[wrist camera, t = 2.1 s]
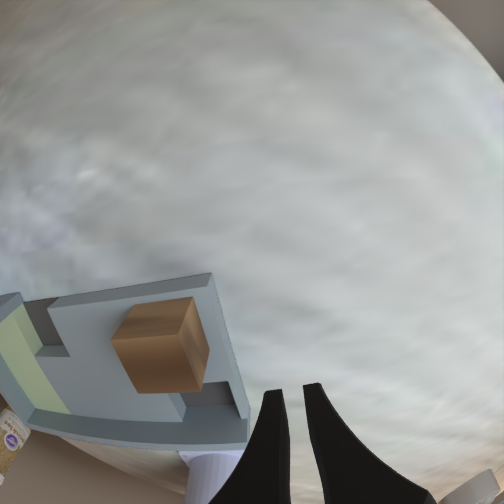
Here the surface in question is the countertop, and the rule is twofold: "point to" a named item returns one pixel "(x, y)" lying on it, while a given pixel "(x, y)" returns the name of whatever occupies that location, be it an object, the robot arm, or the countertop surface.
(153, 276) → the countertop surface
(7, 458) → the sprinkles bottle
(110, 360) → the grey pocketed tray
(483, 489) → the lumpy-topped squat cylinder
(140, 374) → the block
